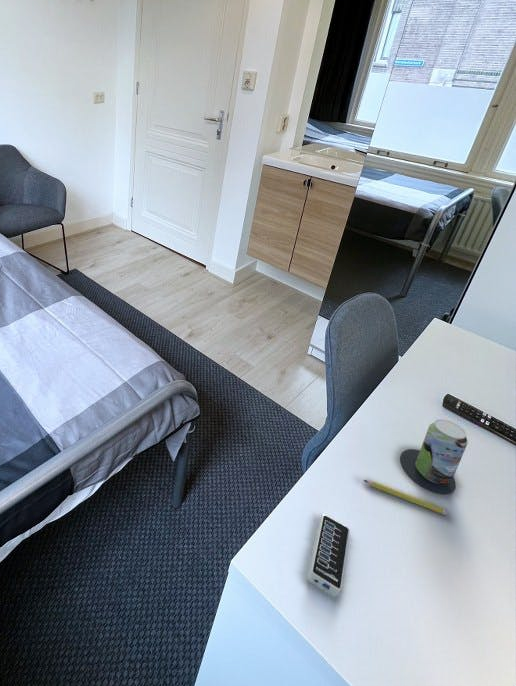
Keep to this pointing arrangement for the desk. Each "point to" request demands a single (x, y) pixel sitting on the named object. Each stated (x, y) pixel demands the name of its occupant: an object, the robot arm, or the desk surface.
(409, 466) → the coaster
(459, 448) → the beverage can
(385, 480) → the desk surface
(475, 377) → the desk surface
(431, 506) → the pencil
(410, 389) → the desk surface
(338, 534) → the multiport hub
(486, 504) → the desk surface
